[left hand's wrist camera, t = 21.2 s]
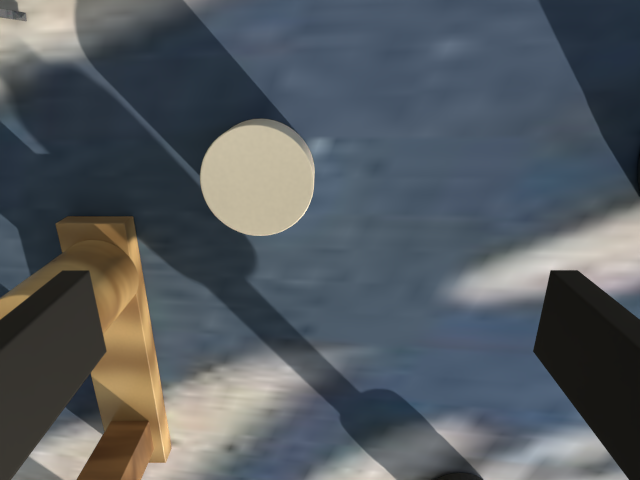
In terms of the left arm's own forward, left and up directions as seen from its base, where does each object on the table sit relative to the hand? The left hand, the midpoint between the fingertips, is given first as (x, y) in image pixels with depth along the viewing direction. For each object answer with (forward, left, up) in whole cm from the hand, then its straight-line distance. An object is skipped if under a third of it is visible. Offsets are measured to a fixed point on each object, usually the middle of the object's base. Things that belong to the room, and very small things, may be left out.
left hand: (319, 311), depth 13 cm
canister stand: (+20, +20, -27) cm, 39 cm away
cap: (+5, +2, -27) cm, 27 cm away
